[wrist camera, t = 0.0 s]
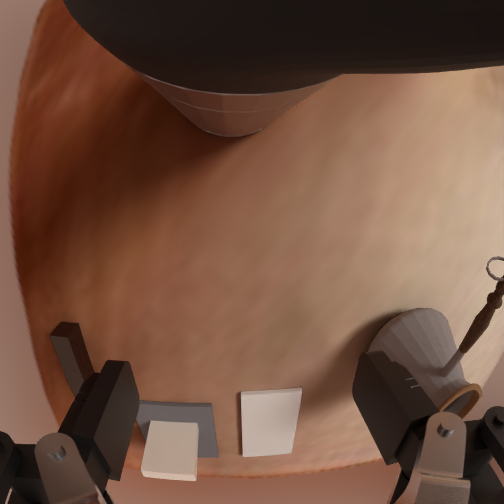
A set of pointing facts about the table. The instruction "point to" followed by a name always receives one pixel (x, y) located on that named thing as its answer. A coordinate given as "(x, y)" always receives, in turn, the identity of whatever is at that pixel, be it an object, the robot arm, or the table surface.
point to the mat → (185, 414)
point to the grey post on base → (72, 354)
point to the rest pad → (269, 421)
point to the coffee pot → (437, 351)
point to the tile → (171, 451)
